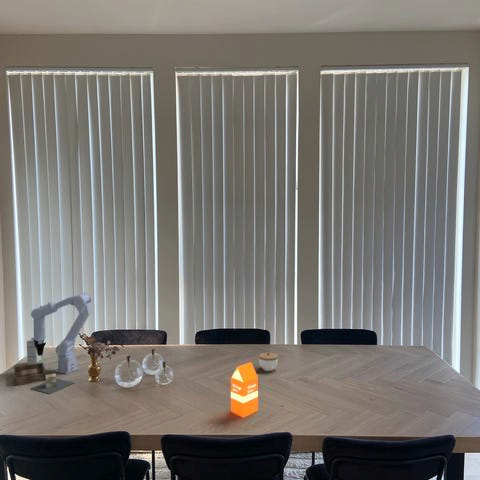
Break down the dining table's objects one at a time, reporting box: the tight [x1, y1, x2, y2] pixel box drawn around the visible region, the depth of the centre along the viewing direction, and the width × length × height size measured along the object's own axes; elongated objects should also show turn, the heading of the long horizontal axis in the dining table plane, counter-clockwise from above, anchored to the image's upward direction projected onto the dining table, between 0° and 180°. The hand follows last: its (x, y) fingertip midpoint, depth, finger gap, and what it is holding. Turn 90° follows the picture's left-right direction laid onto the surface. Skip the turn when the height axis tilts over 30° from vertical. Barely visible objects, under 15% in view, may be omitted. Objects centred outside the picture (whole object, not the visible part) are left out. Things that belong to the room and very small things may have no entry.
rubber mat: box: [30, 378, 75, 395], centre depth 188 cm, size 14×14×1 cm
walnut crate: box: [13, 361, 47, 387], centre depth 201 cm, size 14×20×4 cm
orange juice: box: [230, 361, 259, 419], centre depth 160 cm, size 8×9×20 cm
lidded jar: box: [258, 351, 279, 372], centre depth 209 cm, size 11×11×9 cm
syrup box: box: [26, 338, 43, 365], centre depth 221 cm, size 6×6×14 cm
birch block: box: [45, 372, 57, 388], centre depth 188 cm, size 4×4×5 cm
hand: (39, 353), depth 210 cm, fingers open, 7 cm apart
